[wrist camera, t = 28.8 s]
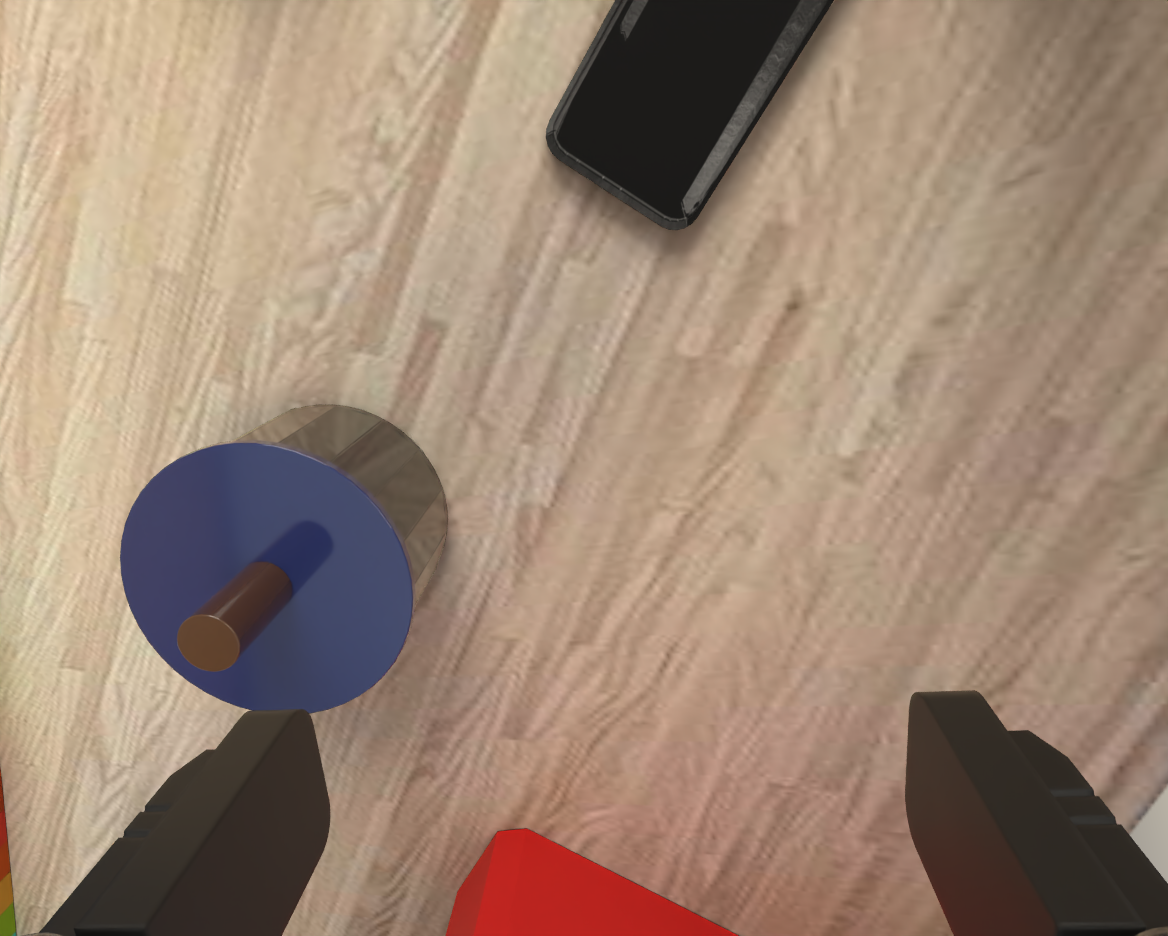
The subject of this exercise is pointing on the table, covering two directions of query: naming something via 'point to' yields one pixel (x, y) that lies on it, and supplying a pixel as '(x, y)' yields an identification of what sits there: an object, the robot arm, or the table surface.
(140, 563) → the lid
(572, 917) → the book
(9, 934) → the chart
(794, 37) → the phone
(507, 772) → the table surface
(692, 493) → the table surface
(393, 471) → the canister
